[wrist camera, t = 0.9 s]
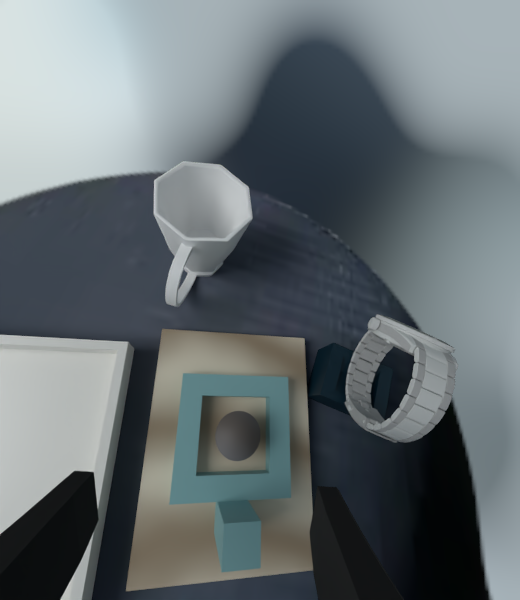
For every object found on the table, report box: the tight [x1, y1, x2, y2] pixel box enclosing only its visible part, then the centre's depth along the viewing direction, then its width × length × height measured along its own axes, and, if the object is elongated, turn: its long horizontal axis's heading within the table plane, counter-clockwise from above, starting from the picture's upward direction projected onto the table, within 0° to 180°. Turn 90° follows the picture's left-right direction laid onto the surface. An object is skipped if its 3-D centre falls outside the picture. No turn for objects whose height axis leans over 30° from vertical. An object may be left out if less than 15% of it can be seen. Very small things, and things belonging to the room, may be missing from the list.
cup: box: [154, 161, 253, 307], centre depth 22 cm, size 7×10×8 cm
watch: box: [307, 315, 458, 443], centre depth 20 cm, size 6×8×11 cm
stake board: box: [126, 329, 313, 591], centre depth 20 cm, size 16×12×4 cm
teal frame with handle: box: [169, 373, 291, 572], centre depth 18 cm, size 10×8×5 cm
